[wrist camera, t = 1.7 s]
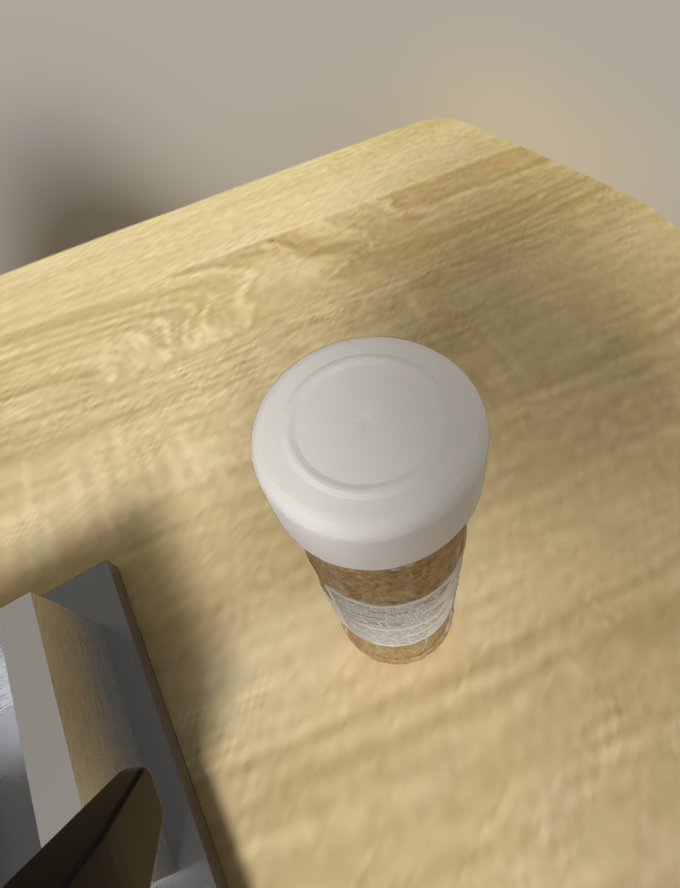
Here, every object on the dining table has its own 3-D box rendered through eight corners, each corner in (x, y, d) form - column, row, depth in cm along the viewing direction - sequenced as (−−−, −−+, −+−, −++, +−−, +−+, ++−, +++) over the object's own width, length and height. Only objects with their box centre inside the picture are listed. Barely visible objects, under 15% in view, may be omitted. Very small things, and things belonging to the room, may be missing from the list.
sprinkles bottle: (354, 542, 23) (286, 317, 11) (462, 564, 22) (505, 337, 10) (326, 653, 21) (208, 508, 9) (445, 682, 20) (476, 559, 8)
